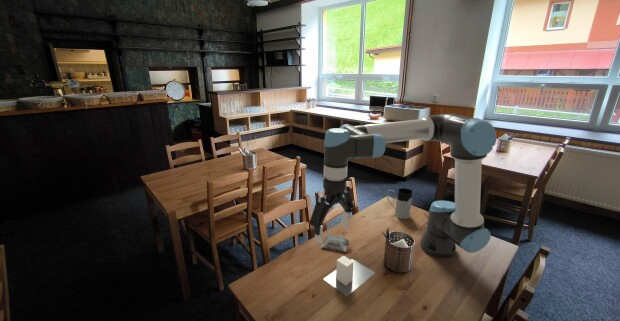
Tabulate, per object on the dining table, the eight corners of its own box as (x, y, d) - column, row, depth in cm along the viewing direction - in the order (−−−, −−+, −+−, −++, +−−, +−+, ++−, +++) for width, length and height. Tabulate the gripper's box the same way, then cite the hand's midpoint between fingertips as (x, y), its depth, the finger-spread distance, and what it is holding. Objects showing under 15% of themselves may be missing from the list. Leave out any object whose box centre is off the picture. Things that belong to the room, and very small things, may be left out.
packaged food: (345, 256, 127) (346, 246, 126) (320, 250, 131) (320, 241, 129) (349, 245, 135) (350, 236, 134) (325, 240, 139) (325, 231, 137)
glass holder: (408, 220, 157) (411, 195, 152) (383, 213, 164) (385, 189, 159) (411, 213, 164) (415, 189, 159) (387, 207, 171) (389, 184, 166)
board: (351, 261, 124) (351, 258, 124) (375, 275, 116) (375, 272, 115) (323, 281, 112) (323, 279, 112) (347, 298, 104) (347, 296, 103)
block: (342, 274, 114) (343, 255, 111) (352, 281, 111) (353, 261, 108) (335, 279, 112) (336, 260, 109) (345, 286, 108) (347, 266, 105)
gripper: (350, 165, 103) (346, 218, 109) (298, 183, 86) (298, 243, 93) (367, 171, 98) (362, 226, 104) (315, 191, 81) (314, 254, 88)
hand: (332, 234), depth 99 cm, fingers open, 12 cm apart
